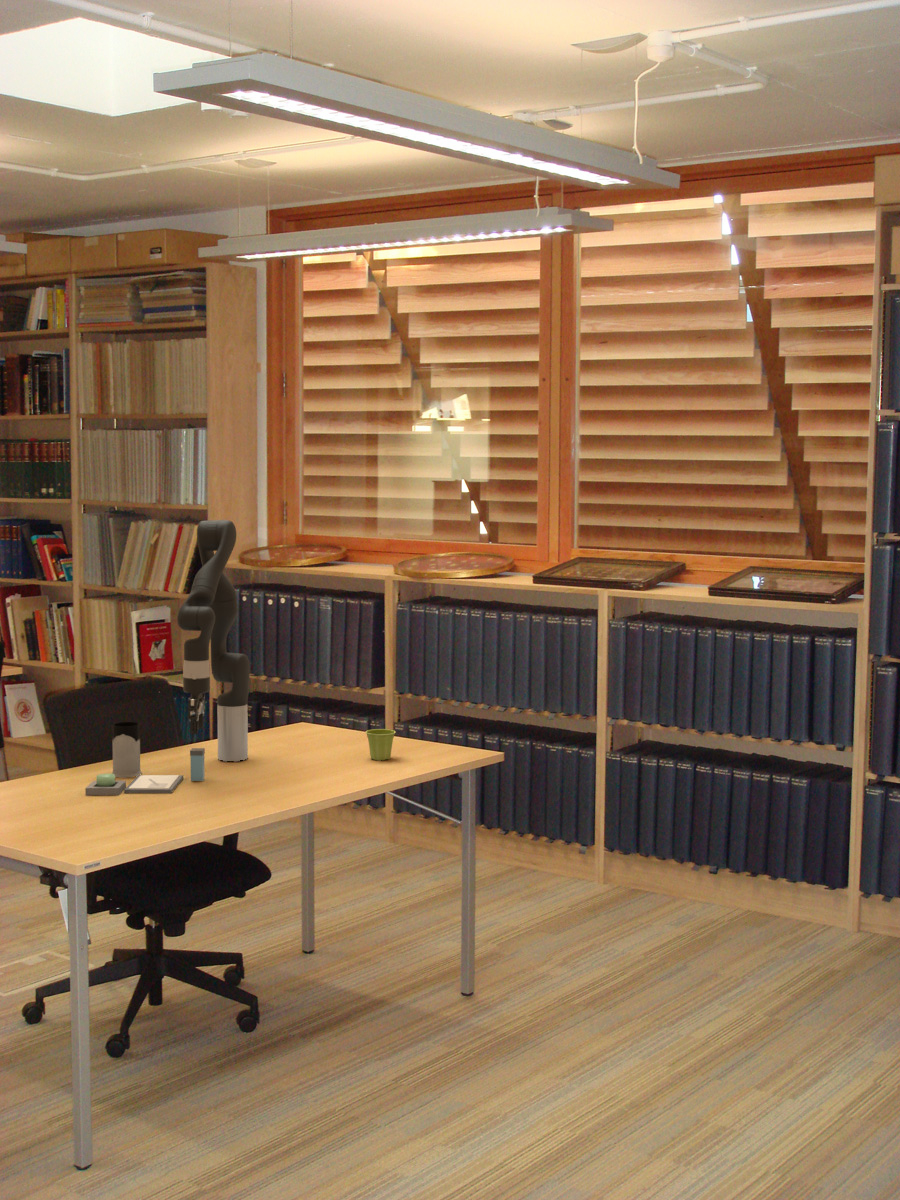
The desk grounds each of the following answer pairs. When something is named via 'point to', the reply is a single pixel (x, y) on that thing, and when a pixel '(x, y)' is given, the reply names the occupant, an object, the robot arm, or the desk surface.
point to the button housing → (105, 788)
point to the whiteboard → (153, 784)
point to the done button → (105, 779)
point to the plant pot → (380, 743)
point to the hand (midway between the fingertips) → (196, 731)
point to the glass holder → (126, 749)
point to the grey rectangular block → (197, 764)
